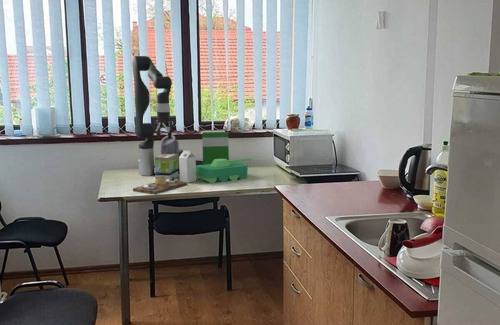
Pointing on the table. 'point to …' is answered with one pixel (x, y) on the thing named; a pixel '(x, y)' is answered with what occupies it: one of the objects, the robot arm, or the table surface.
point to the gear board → (157, 189)
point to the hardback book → (215, 146)
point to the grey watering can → (170, 147)
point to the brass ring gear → (160, 181)
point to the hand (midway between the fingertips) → (164, 138)
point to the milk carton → (187, 166)
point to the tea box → (166, 166)
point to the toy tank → (222, 170)
